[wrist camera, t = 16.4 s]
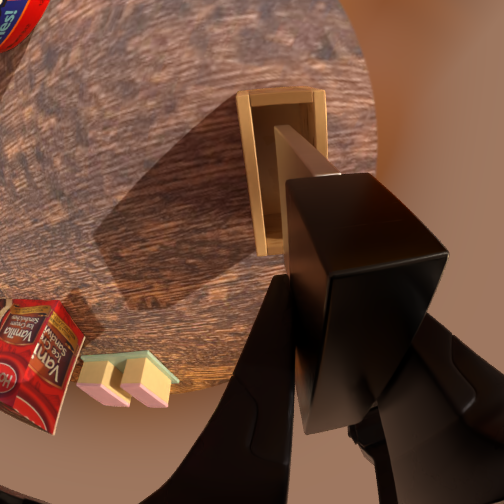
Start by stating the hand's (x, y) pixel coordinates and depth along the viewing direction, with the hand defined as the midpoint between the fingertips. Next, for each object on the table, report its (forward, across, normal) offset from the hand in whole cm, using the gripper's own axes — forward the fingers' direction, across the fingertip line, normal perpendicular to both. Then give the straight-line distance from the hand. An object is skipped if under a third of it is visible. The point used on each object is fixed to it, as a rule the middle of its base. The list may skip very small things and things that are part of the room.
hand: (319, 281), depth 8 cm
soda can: (+11, +16, -17) cm, 26 cm away
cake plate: (+11, +21, +24) cm, 34 cm away
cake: (+10, +24, +24) cm, 36 cm away
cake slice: (+10, +17, +23) cm, 31 cm away
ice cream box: (+11, +34, +13) cm, 38 cm away
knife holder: (+11, 0, 0) cm, 11 cm away
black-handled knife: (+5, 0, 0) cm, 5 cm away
